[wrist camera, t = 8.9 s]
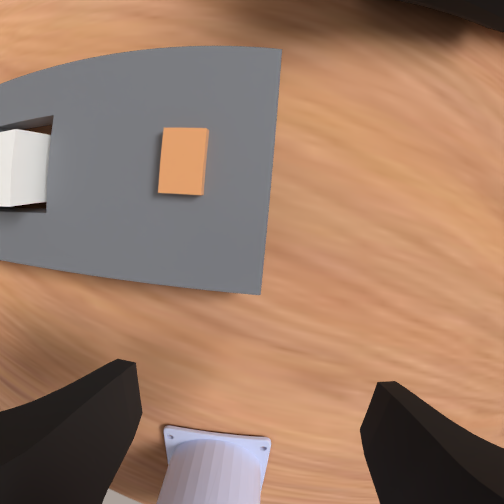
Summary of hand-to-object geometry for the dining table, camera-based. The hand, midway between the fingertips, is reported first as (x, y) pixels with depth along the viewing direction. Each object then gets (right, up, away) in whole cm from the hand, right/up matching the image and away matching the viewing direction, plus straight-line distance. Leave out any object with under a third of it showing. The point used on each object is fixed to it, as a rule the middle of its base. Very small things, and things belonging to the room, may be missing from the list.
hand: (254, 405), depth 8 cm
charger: (-14, +10, +8) cm, 19 cm away
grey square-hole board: (-10, +10, +8) cm, 16 cm away
